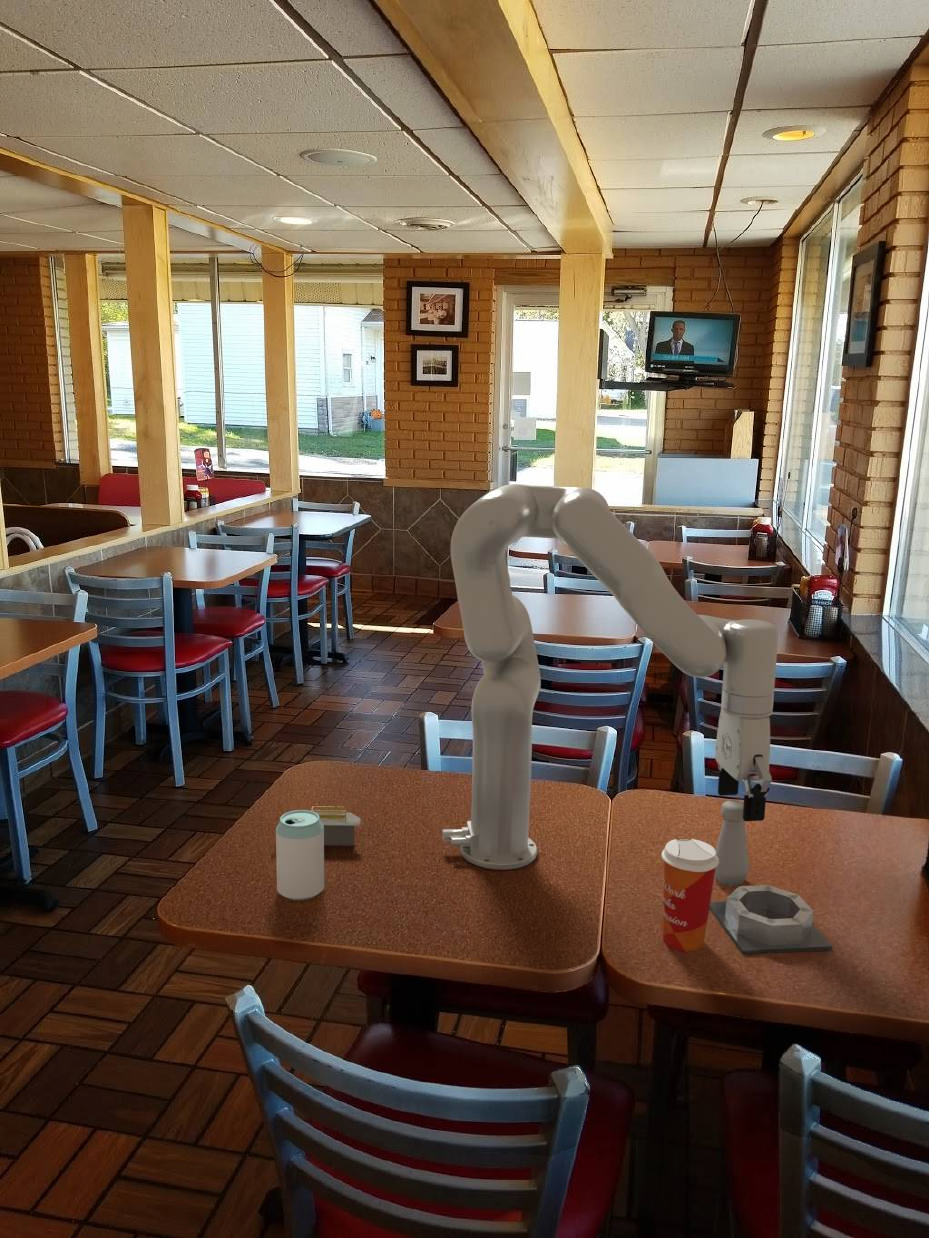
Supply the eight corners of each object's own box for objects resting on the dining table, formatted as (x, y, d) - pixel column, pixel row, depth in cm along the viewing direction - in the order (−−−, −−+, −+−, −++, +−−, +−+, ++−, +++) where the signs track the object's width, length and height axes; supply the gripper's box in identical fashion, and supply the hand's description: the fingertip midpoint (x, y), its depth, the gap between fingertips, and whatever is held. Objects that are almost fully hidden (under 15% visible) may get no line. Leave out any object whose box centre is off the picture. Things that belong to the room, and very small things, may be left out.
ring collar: (742, 954, 132) (745, 930, 131) (707, 905, 144) (709, 883, 144) (831, 949, 134) (834, 926, 133) (789, 902, 146) (791, 880, 145)
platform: (282, 828, 167) (282, 793, 166) (386, 830, 168) (386, 795, 166) (271, 860, 156) (270, 823, 154) (382, 862, 156) (383, 824, 155)
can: (311, 906, 141) (310, 830, 139) (268, 898, 143) (266, 823, 141) (331, 884, 148) (331, 811, 145) (290, 876, 150) (289, 804, 147)
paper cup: (648, 926, 138) (655, 836, 135) (700, 925, 139) (708, 836, 136) (664, 957, 131) (671, 863, 127) (719, 956, 131) (728, 862, 128)
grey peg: (744, 872, 155) (752, 797, 152) (751, 890, 149) (759, 812, 147) (707, 870, 156) (714, 794, 153) (712, 887, 150) (720, 809, 147)
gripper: (702, 686, 154) (696, 786, 157) (747, 720, 137) (739, 832, 141) (747, 684, 155) (740, 784, 158) (797, 718, 138) (788, 829, 142)
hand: (740, 806), depth 150 cm, fingers open, 9 cm apart
